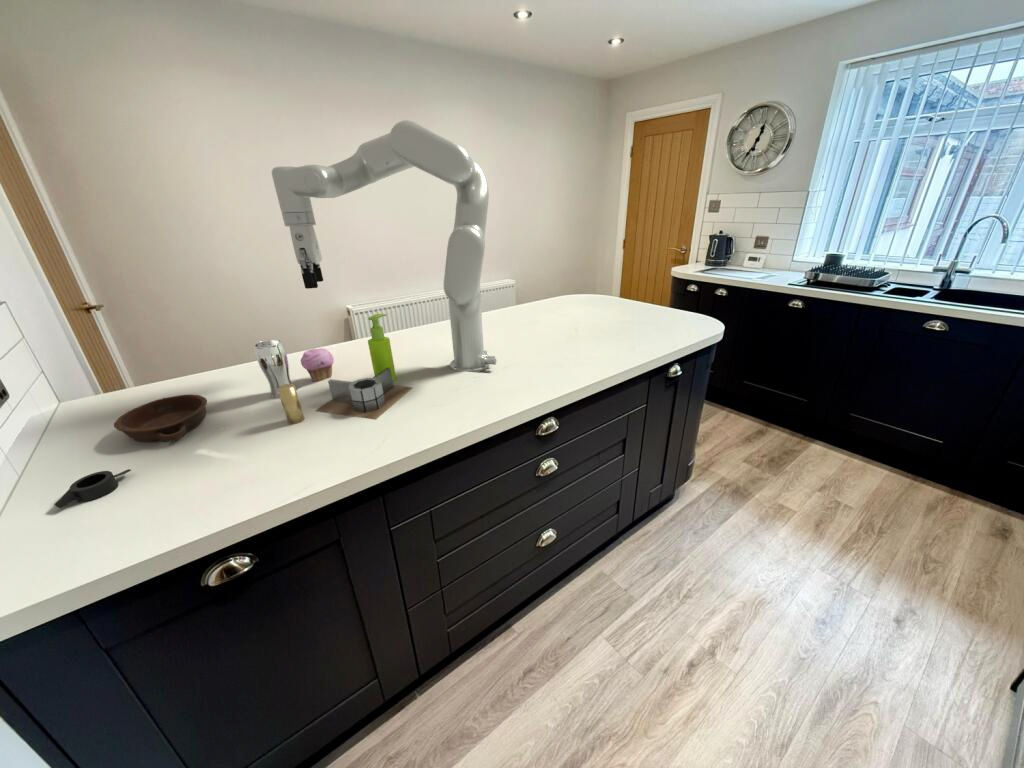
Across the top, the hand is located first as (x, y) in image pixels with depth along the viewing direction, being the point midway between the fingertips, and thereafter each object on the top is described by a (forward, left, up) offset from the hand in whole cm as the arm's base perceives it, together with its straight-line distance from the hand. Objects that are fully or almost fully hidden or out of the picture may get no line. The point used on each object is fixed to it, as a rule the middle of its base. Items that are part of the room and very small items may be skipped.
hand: (314, 284), depth 111 cm
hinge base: (-22, +15, -28) cm, 38 cm away
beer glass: (+5, +16, -28) cm, 32 cm away
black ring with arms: (+7, +59, -28) cm, 65 cm away
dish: (+18, +38, -28) cm, 50 cm away
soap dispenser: (-20, +2, -28) cm, 34 cm away
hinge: (-21, +14, -27) cm, 37 cm away
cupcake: (0, +6, -28) cm, 28 cm away
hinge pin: (-12, +29, -28) cm, 41 cm away
